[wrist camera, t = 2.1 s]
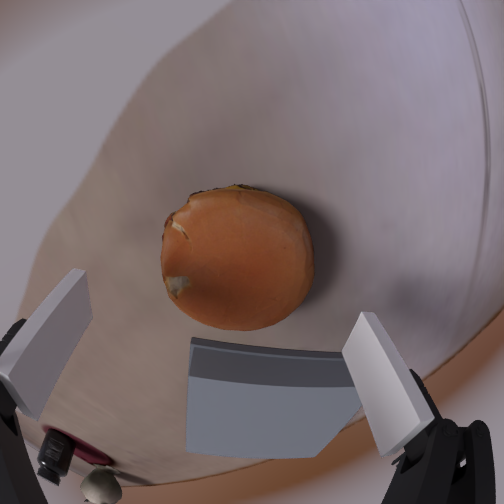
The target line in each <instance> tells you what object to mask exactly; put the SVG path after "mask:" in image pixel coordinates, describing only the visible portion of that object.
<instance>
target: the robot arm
mask: <svg viewBox="0 0 504 504" xmlns="http://www.w3.org/2000/svg"><path fill="white" fill-rule="evenodd" d="M92 318H93V316H92V310H91V304H90V297H89V290H88V282H87V274H86V271H84V270H79V269H74V268H73V269H72V270H71V271H70V272H69V273H68V274H67V275H66V276H65V277H64V278H63V279H62V280H61V282H60V283H59V284H58V285H57V286H56V287H55V288H54V289H53V290H52V292H51V293H50V294H49V295H48V296H47V297H46V298H45V300H44V301H43V302H42V303H41V304H40V305H39V307H38V308H37V309H36V310H35V311H34V313H33V314H32V315H31V316H30V317H29V319H28V320H26V319H23V318H22V319H21V320H19V321H18V322H16V323H15V324H13V325H12V327H11V328H10V329H9V331H8V332H7V334H5V336H4V337H3V338H2V341H0V504H48V502H47V500H46V498H45V496H44V493H43V491H42V489H41V487H40V485H39V482H38V480H37V477H36V475H35V472H34V470H33V467H32V465H31V462H30V459H29V456H28V453H27V450H26V447H25V444H24V440H23V437H22V433H21V429H20V426H19V422H18V418H17V415H16V412H15V409H16V407H17V406H18V408H19V409H20V410H21V412H22V413H23V414H24V415H26V416H28V417H30V418H32V419H34V420H36V421H38V420H39V417H40V415H41V413H42V411H43V409H44V406H45V404H46V402H47V400H48V398H49V396H50V394H51V392H52V390H53V388H54V386H55V384H56V382H57V380H58V378H59V376H60V374H61V372H62V370H63V369H64V367H65V365H66V363H67V361H68V359H69V358H70V356H71V354H72V352H73V350H74V349H75V347H76V345H77V343H78V342H79V340H80V338H81V337H82V335H83V333H84V331H85V330H86V328H87V326H88V325H89V323H90V322H91V320H92ZM341 352H342V354H343V357H344V359H345V362H346V364H347V367H348V369H349V372H350V374H351V377H352V380H353V382H354V385H355V387H356V390H357V393H358V395H359V398H360V400H361V403H362V406H363V408H364V411H365V414H366V417H367V419H368V422H369V425H370V428H371V430H372V433H373V436H374V439H375V442H376V444H377V448H378V450H379V453H380V456H381V457H384V456H389V455H392V454H395V453H397V452H398V451H399V450H400V449H401V448H403V447H404V449H405V452H404V453H403V454H402V455H400V456H399V457H398V458H397V459H396V460H394V461H393V462H392V465H394V464H395V463H397V462H398V461H399V460H400V461H399V464H398V465H397V466H396V467H397V469H396V471H395V474H394V476H393V479H392V481H391V483H390V486H389V488H388V490H387V492H386V494H385V497H384V499H383V501H382V503H381V504H496V494H495V493H496V489H495V471H494V460H493V452H492V444H491V437H490V432H489V429H488V427H487V425H486V424H485V423H484V422H483V421H481V420H475V421H474V422H473V423H471V424H470V425H469V426H468V427H458V426H457V425H456V423H455V422H453V421H452V420H450V419H446V418H445V419H443V418H442V417H441V415H440V413H439V411H438V409H437V407H436V405H435V404H434V402H433V400H432V398H431V396H430V394H428V391H427V389H426V387H424V384H423V382H422V380H421V379H420V377H419V376H418V375H417V374H416V373H415V372H414V371H413V370H412V369H408V368H407V366H406V364H405V362H404V361H403V359H402V357H401V355H400V354H399V352H398V350H397V349H396V347H395V345H394V344H393V342H392V340H391V339H390V337H389V336H388V334H387V332H386V331H385V329H384V327H383V326H382V324H381V323H380V321H379V319H378V318H377V316H376V315H375V313H374V312H363V311H361V313H360V316H359V318H358V320H357V322H356V324H355V326H354V328H353V330H352V332H351V334H350V336H349V338H348V340H347V342H346V344H345V346H344V348H343V349H342V351H341ZM464 459H466V464H465V465H464V466H463V467H460V462H462V461H463V460H464Z"/></svg>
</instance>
